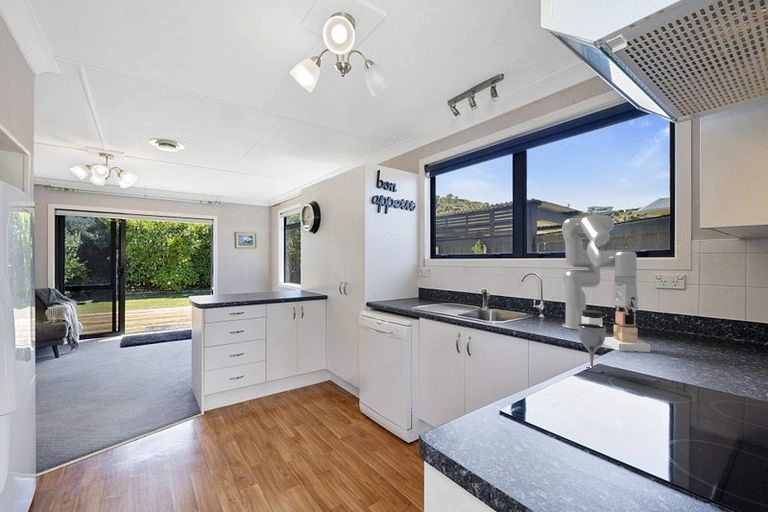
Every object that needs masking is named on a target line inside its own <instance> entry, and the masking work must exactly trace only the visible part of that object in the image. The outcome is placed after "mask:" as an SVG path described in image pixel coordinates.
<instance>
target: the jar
mask: <svg viewBox="0 0 768 512" xmlns="http://www.w3.org/2000/svg"><path fill="white" fill-rule="evenodd" d="M582 324H597V325H602V326H603V312H602V311H599V310H593V309H586V310H583V311H582Z"/></svg>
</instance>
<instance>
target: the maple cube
mask: <svg viewBox="0 0 768 512" xmlns="http://www.w3.org/2000/svg"><path fill="white" fill-rule="evenodd" d="M638 330H639V329H638V327H636V326H629V325H620V324H613V337H614V339H616V340H618V341H621V342H638V340H639V339H638V337H639V336H638Z"/></svg>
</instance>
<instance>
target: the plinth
mask: <svg viewBox="0 0 768 512" xmlns="http://www.w3.org/2000/svg"><path fill="white" fill-rule="evenodd" d="M603 345H605V346H607V347H609V346H610V347H609V348H611V347H612V348H611V349H613V348H614V350H616V351H618V352H634V351H638V353H640V352H641V353H650V352H651V344H650V343H647V342H644V341H641V340H639V339H638V342H621V341H618V340H616V339H614V336H605V341H604V343H603Z"/></svg>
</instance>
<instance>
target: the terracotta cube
mask: <svg viewBox="0 0 768 512" xmlns="http://www.w3.org/2000/svg"><path fill="white" fill-rule="evenodd" d="M625 315H626V311H625V312H616V311H615V323H616V325H629V326H633V327H636V314H635V315H634V324H633V325H630V324H625Z"/></svg>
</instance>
